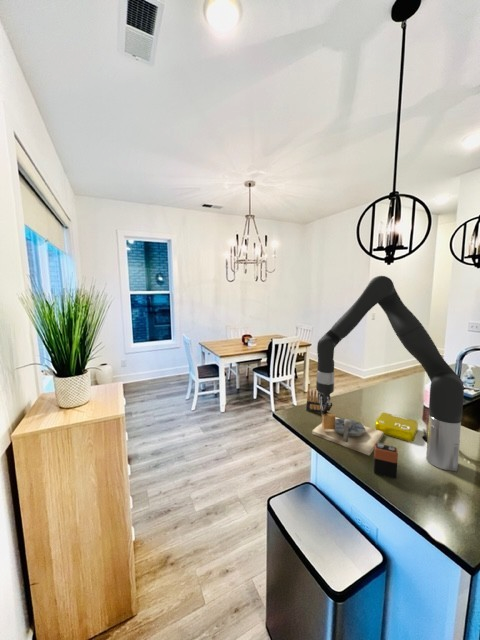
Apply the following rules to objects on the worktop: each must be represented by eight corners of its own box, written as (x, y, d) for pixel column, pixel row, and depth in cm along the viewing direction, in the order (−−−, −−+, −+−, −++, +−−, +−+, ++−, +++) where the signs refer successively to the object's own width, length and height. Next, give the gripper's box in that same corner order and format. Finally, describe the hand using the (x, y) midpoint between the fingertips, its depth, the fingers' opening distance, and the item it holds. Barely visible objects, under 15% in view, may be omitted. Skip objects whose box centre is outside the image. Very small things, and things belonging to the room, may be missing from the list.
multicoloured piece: (356, 421, 124) (356, 408, 123) (369, 435, 111) (370, 422, 110) (318, 421, 124) (318, 408, 123) (327, 435, 111) (327, 422, 110)
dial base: (383, 435, 117) (384, 417, 116) (369, 455, 102) (370, 435, 101) (330, 418, 133) (331, 403, 132) (311, 434, 118) (312, 416, 117)
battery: (373, 466, 96) (374, 440, 95) (395, 471, 93) (396, 444, 92) (373, 474, 92) (375, 446, 91) (396, 479, 89) (398, 451, 88)
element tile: (417, 429, 122) (418, 419, 122) (413, 443, 111) (413, 432, 111) (381, 420, 132) (382, 410, 132) (373, 432, 121) (374, 421, 120)
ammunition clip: (306, 410, 142) (306, 388, 141) (306, 409, 144) (306, 387, 143) (327, 413, 138) (327, 391, 137) (327, 412, 140) (327, 390, 139)
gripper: (312, 376, 125) (311, 411, 127) (321, 386, 112) (320, 425, 114) (328, 375, 125) (326, 410, 127) (339, 385, 112) (337, 424, 114)
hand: (323, 417), depth 121 cm, fingers closed
